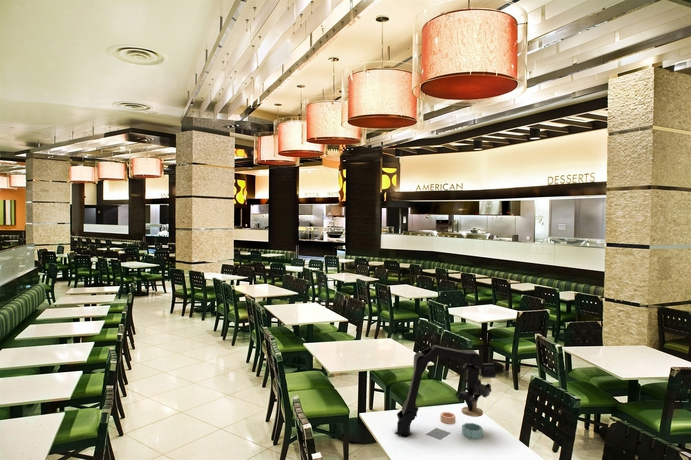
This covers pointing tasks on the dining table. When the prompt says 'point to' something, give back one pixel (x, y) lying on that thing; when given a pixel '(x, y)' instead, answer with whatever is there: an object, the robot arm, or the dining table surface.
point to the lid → (475, 411)
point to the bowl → (472, 430)
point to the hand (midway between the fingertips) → (472, 409)
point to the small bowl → (447, 418)
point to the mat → (438, 433)
